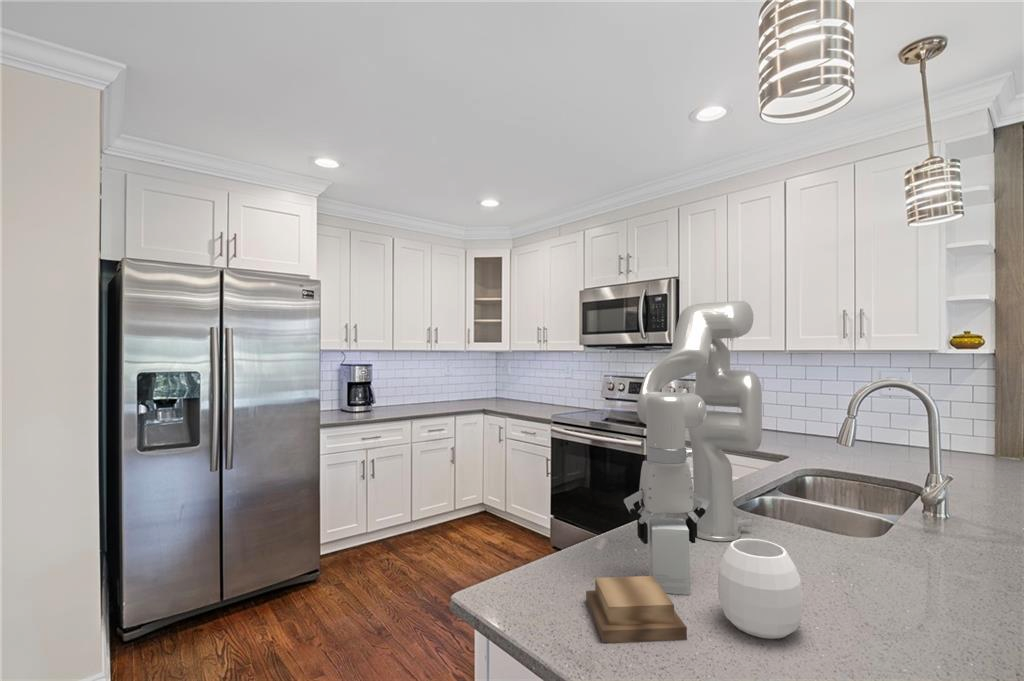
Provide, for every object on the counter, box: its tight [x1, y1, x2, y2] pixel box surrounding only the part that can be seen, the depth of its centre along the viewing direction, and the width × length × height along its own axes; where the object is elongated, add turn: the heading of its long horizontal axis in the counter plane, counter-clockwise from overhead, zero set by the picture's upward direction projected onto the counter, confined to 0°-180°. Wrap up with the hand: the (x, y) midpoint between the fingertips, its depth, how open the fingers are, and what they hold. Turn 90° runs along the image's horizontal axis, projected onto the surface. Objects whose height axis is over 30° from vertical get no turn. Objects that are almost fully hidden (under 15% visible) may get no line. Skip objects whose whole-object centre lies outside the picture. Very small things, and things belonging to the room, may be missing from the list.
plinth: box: [585, 575, 688, 644], centre depth 90 cm, size 14×14×5 cm
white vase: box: [717, 538, 804, 640], centre depth 87 cm, size 13×13×14 cm
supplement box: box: [648, 517, 691, 596], centre depth 102 cm, size 7×7×13 cm
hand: (667, 541), depth 102 cm, fingers open, 9 cm apart
